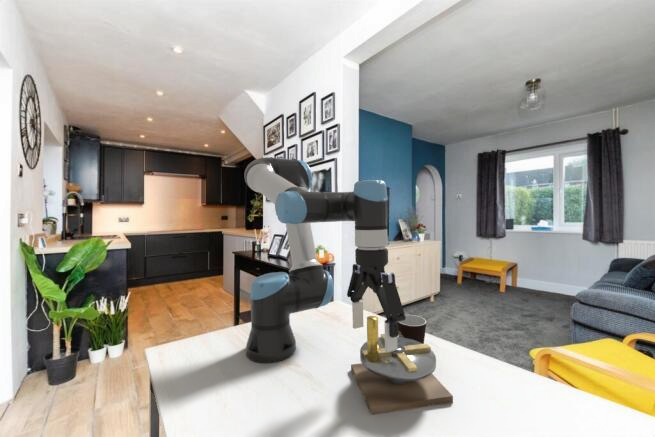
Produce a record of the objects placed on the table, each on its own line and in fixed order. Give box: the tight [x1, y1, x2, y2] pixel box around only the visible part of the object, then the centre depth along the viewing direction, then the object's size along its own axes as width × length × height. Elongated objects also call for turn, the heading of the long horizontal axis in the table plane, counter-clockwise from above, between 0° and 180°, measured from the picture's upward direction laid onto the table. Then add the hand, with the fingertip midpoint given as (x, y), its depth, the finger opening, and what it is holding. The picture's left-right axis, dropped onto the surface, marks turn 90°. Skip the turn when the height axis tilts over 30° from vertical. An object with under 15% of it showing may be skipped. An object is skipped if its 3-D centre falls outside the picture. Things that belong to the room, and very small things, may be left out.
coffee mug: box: [398, 314, 427, 344], centre depth 87 cm, size 12×9×10 cm
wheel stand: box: [350, 362, 454, 415], centre depth 71 cm, size 17×19×6 cm
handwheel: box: [359, 315, 437, 381], centre depth 70 cm, size 18×18×12 cm
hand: (373, 337), depth 67 cm, fingers open, 13 cm apart
